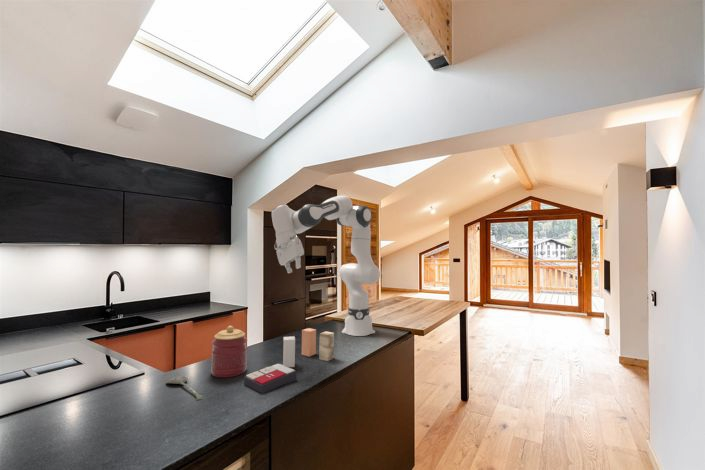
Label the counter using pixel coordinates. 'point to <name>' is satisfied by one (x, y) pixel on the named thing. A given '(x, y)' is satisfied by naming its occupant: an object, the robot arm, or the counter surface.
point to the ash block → (326, 346)
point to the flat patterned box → (270, 378)
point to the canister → (229, 353)
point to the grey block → (289, 351)
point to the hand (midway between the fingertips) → (294, 270)
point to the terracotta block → (308, 342)
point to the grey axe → (181, 381)
